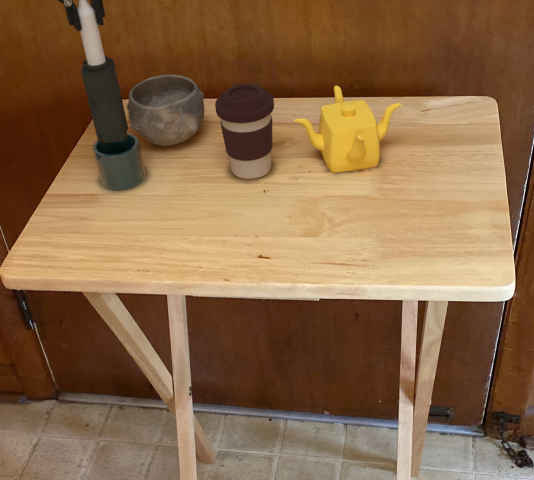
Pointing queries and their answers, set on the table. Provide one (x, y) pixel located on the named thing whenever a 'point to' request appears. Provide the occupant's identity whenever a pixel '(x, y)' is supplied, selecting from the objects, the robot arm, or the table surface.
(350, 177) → the table surface
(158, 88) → the bowl
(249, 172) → the coffee cup
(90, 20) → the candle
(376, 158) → the teapot
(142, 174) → the cup
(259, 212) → the table surface
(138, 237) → the table surface
